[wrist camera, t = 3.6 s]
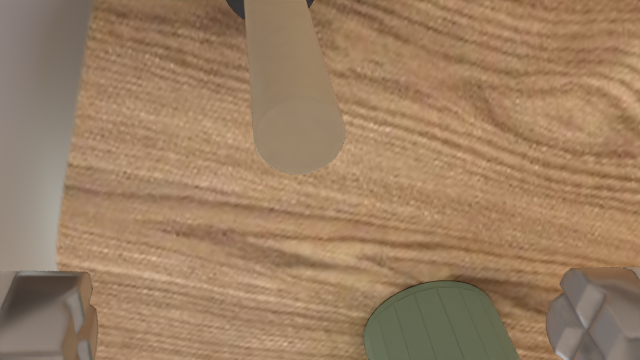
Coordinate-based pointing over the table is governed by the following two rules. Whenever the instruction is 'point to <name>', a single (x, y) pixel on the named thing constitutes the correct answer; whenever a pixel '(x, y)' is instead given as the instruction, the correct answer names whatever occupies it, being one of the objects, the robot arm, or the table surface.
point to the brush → (289, 87)
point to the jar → (438, 325)
